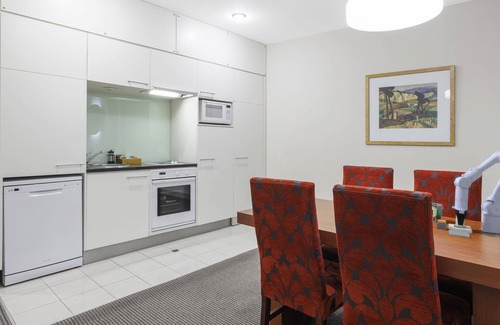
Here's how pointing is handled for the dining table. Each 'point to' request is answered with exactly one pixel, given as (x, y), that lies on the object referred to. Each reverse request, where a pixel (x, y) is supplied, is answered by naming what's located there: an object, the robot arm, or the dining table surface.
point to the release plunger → (442, 221)
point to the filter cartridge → (459, 225)
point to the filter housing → (454, 228)
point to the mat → (459, 233)
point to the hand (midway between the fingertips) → (460, 224)
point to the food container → (437, 211)
